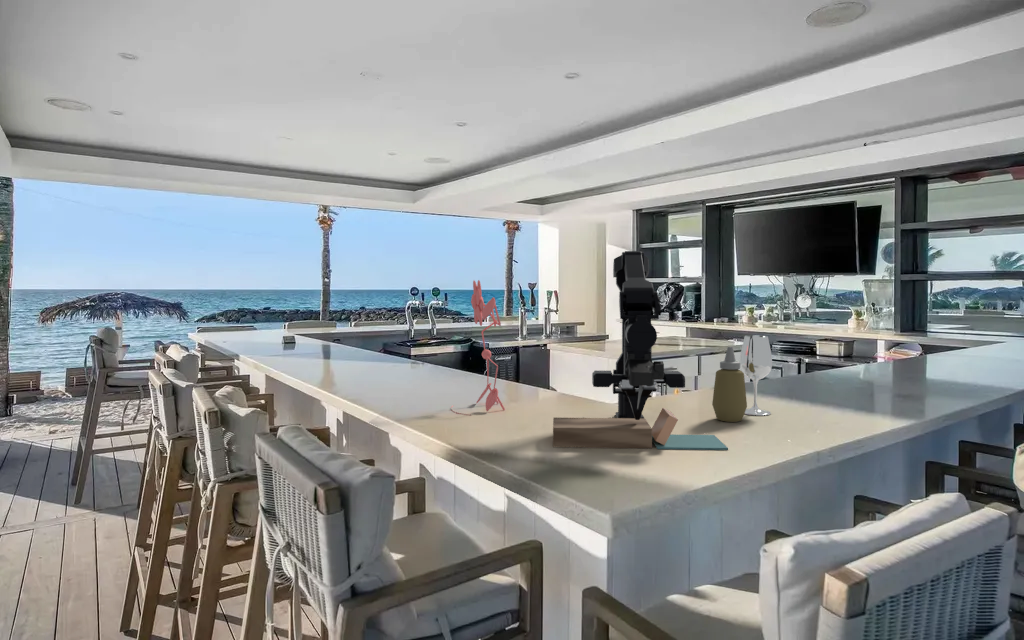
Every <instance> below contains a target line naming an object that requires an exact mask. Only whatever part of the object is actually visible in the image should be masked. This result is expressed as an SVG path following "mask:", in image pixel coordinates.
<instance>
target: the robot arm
mask: <svg viewBox="0 0 1024 640" xmlns="http://www.w3.org/2000/svg"><path fill="white" fill-rule="evenodd" d="M644 253H645V252H644V251H641V250H624V251H622V252H621V255H618V256H616V257H615V258H614V259H613V267H612V268H613V270H612V272H613V273H612V275H613V278H615V285H616V286H617V288H618V290H619V292H618V293H619V294H618V297H619V298H618V306H619V307H618V308H619V319H620V320H621V354H620V355H619V357H618V358H617V360H616V362H615V369H613V370H594V371H593V372H592V374H591V377H592V378H591V379H592V380H591V383H592V385H593V387H594V388H609V387H611V386H612V393H613V395H616V394H617V396H618V397H617V412H615V416H616V418H635V420H640V418H645V416H644V415H643V414H642V413H643V411H644V408H645V405H646V402H647V400H648V399H649V396H650V395H651V393H652V392H653V393H654V392H657V390H658V389H657V388H656V386H657V384H665V385H667V386H668V387H669V388H670V389H671V388H674V389H684V388H686V376H685V375H684V374H683V373H682V372H680V370H679V371H678V370H665V364H664V361H663V360H661V361H657V360H654V361H653V359H652V357H653V355H652V352H653V347H654V345H655V344H656V341H657V339H658V333H657V330H656V328H655V326H653V324H652V320H660V319H659V318H660V316H661V315H662V306H661V299H660V298H661V297H660V296H659V295H658V292H657V291H655V289H654V284H653V282H651V281H649V280H647V279H646V278H648V276H649V274H650V264H649V263H650V262H649V261H650V260H649V259H650V258H649V257H647V256H645V254H644Z"/></svg>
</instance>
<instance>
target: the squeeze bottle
mask: <svg viewBox="0 0 1024 640" xmlns="http://www.w3.org/2000/svg"><path fill="white" fill-rule="evenodd" d="M719 368H720V369H718V370H716V372H715V379H714V386H713V394H712V395H713V396H712V401H711V402H712V407H713V411H714V414H715V417H716V419H717V420H718V421H722V422H727V423H738V422H741V421H743V418H744V417H745V414H744V413H745V411H746V409H748V408H747V407H748V402H747V401H748V400H747V393H746V392H747V391H746V381H745V380H746V378H745V374H744V373H743V372H742V370H741V368H740V361H736V357H735V351H734V347H733V346H727V348H726V352H725V357H724V360H720V361H719Z"/></svg>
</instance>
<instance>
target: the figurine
mask: <svg viewBox="0 0 1024 640" xmlns="http://www.w3.org/2000/svg"><path fill="white" fill-rule="evenodd" d="M472 289H473V294H472V295H471V300H470V303H471V306H472V309H473V319H474V323H475V325H478V323H479V325H480V326H481V327H482V325H483V321H485V320H486V319H487V318H488V317H489V316H490V318H491V319H492V321H493V322H492V323H490V324H489V325H488V326H486V327H484V328H483V329H482V330H481V331H480V333H481V339H482V345H483V350H482V352H481V356H482V358H483V360H486V365H487V366H486V368H487V369H486V372H487V373H486V375H487V376H486V377H487V380H486V382H487V384H486V387H485V389H484V390H483V392H482V393H481V394H480V396H479V397H478V399H477V401H476V404H479V402H480V401H481V400H482V399H483V398H484V396H485V395H486V394H487V392H488V390H489V393H488V395H487V397H486V399H485V411H486V412H489V411H490V409H492V407H494V406H495V404H497V405H500V407H501V408H502V410H503V411H505V410H506V408H505V407H504V405H503V403H502V401H501V398H500V397H499V390H498V388H497V387H496V383H497V376H498V370H499V365H498V364H497V363H495V362H494V361H493V360H492V359H491V358H492V351H491V350H489V349H486V344H485V342H486V341H485V335H484V332H485V331H486V330H489V328H491V327H492V326H494V327H495V328H496V327H497V326H499V327H501V326H502V325H501V320H500V315H499V312H498V308H497V305H496V299H495V297H492V298H491V299H489V300H488V302H487V303H485V301H484V297H483V296H482V295H483V294H482V285H481V281H480V279H478V280H477V282H476V280H473V281H472ZM494 311H495V312H494ZM495 315H496V318H495ZM494 327H493V328H494ZM489 361H490V362H491V363H492V364H494V365H495V366H496V369H495V377H494V382H493V383H494V384H493V388H491V385H492V383H491V382H490V383H489V363H490V362H489ZM452 407H454V405H452V406H451V408H452ZM452 412H453V413H455V414H458V415H462V412H457V411H453V410H452ZM463 415H464V416H470V414H466V413H463Z"/></svg>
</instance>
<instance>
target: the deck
mask: <svg viewBox="0 0 1024 640" xmlns="http://www.w3.org/2000/svg"><path fill="white" fill-rule="evenodd" d="M552 422H553V423H552V425H553V426H552V447H553V448H590V449H591V448H594V449H595V448H596V449H597V448H598V449H599V448H601V449H602V448H603V449H606V448H607V449H652V448H653V441H652V427H651V425H650V424H649V422H648V421H647V419H646V418H645V417H644V418H640V420H635V418H617V417H553V421H552Z"/></svg>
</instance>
